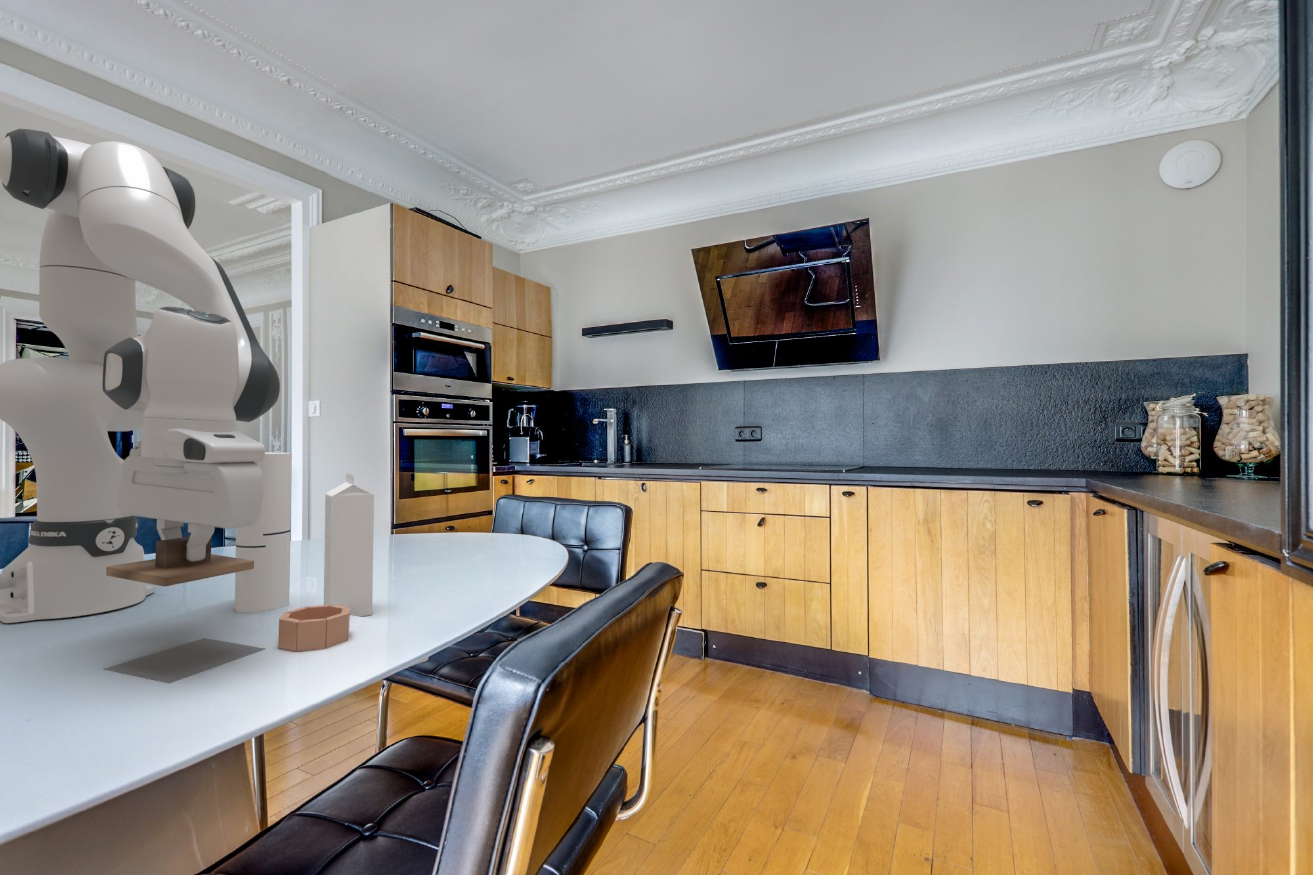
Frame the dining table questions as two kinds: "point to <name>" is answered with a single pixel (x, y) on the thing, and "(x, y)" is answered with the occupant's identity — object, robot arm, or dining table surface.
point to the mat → (184, 660)
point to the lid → (178, 565)
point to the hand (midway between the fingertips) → (183, 558)
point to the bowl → (314, 627)
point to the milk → (349, 548)
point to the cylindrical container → (267, 542)
